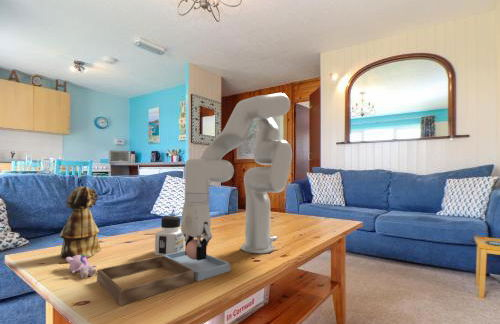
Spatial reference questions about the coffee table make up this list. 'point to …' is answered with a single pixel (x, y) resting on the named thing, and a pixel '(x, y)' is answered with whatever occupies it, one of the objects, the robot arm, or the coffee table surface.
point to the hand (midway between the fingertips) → (195, 256)
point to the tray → (201, 265)
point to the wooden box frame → (147, 289)
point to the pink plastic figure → (81, 266)
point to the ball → (192, 249)
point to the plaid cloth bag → (80, 225)
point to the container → (169, 236)
